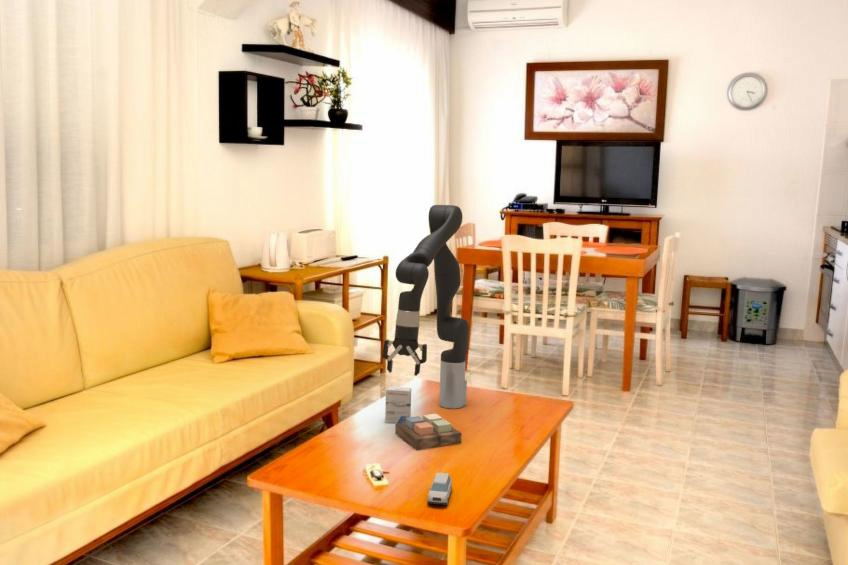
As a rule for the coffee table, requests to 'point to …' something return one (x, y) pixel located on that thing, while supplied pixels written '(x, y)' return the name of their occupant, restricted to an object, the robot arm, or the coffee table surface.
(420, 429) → the terracotta key
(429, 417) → the cream key
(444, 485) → the toy car
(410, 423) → the slate key
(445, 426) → the sage key
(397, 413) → the ink box
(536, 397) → the coffee table surface
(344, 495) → the coffee table surface
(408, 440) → the keypad housing
